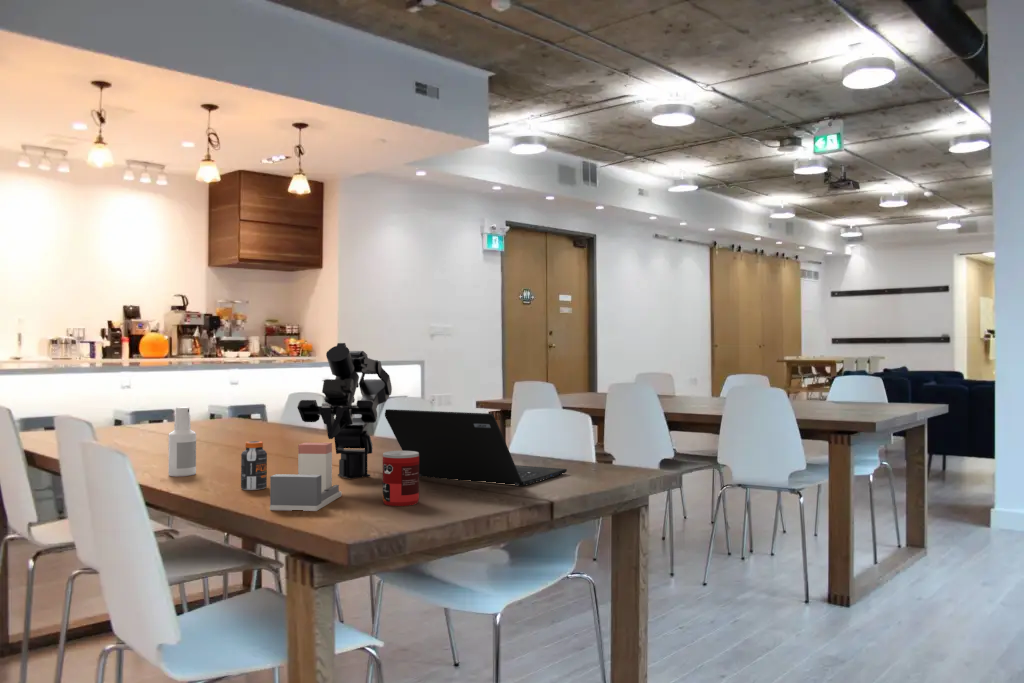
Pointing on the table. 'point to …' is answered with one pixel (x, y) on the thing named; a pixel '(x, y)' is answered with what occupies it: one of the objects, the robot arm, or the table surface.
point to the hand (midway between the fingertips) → (329, 438)
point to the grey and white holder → (300, 492)
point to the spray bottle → (182, 446)
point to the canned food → (400, 478)
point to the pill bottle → (254, 466)
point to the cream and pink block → (316, 462)
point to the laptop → (461, 447)
